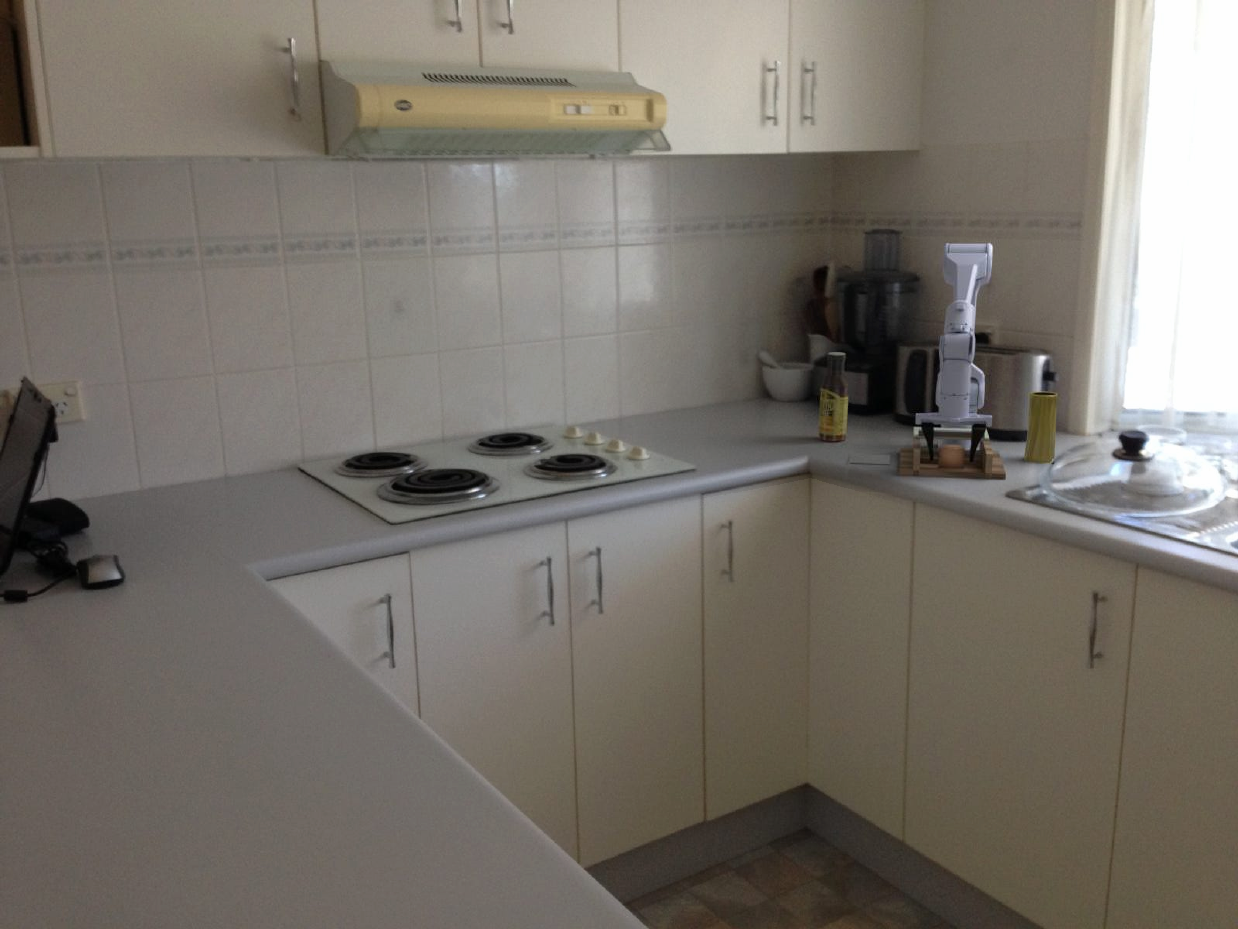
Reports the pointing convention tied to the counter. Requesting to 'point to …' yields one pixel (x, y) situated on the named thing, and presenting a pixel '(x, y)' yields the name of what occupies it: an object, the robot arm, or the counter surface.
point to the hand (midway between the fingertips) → (951, 460)
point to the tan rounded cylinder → (951, 456)
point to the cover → (949, 434)
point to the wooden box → (982, 467)
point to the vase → (1041, 427)
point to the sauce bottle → (834, 400)
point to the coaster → (870, 459)
